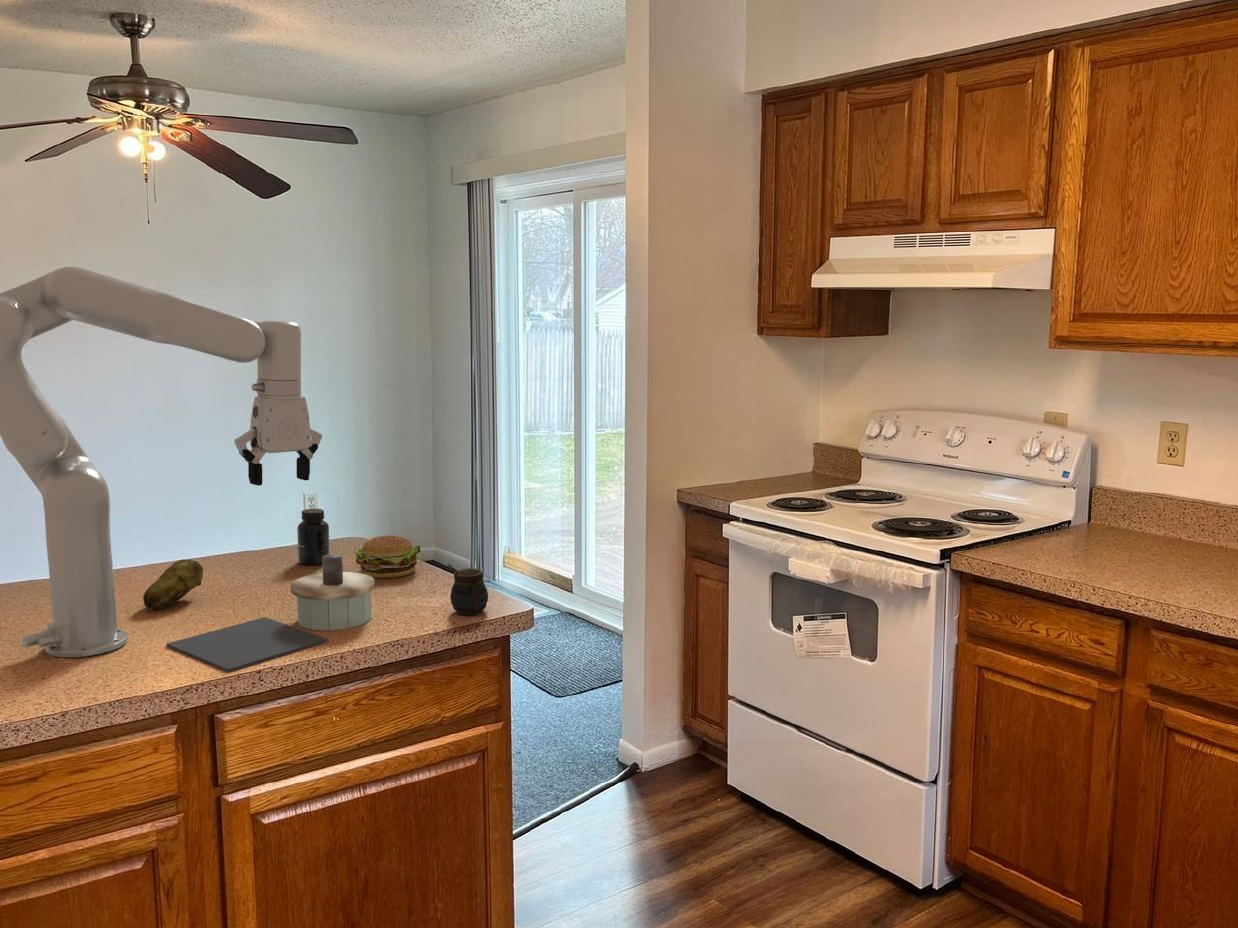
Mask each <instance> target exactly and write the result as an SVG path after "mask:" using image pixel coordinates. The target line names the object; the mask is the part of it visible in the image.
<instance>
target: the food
mask: <svg viewBox="0 0 1238 928" xmlns="http://www.w3.org/2000/svg"><path fill="white" fill-rule="evenodd" d="M419 553H421V545H415V547H414V546H413V542H412V541H410V540H409V539H407V538H405V537H402V536H400V535H394V534H393V535H392V534H391V535H389V534H388V535H385V534H384V535H380V536H375V537H371V538H370V539H368V540H366V541H365V542H364V543H363V545H362V547H361V548H358V552H356V551H354V552H353V554H354V555H355V556H356V558H355V563H356V564H357V565H359V567H360V573H361V574H366V575H369V576H371V577H373V578H374V579H395V578H401V577H404V576H408V575H410V574H412V573H414V572H416V571H415V570H416V565H417V563H418V559H417V555H419Z"/></svg>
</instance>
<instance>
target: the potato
mask: <svg viewBox="0 0 1238 928" xmlns="http://www.w3.org/2000/svg"><path fill="white" fill-rule="evenodd" d="M203 577H204V568H203V566H202V565H201V563H199V562H198V561H196V560H194V559H193V560H192V559H179V560H177V561H175V562H173V563H172V564H171V565H170V566H169V567H168V568H166V569H165V570H164V572H162V574H161V575H160V576H159V577H158V578H157V580H155V581H154V582H153V583H152V584H151V585H150V586H149V587H148V588H147V589H146V590H145V592H144V594H143V595H142V596H143V597H142V599H143V604H144V606H145V607H146V608H148V609H151V610H152V611H155V610H160V609H162V608H164V607H167V606H169V605H170V606H171V605H172V604H175V603H177V602H178V601H179V600H181V599H182V598H184V597H185V596H186V595H187V594H188V593H189V592H190V591H193V589H195V588H196V587H199V586H201V585H202V580H203Z"/></svg>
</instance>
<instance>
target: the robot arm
mask: <svg viewBox="0 0 1238 928" xmlns="http://www.w3.org/2000/svg"><path fill="white" fill-rule="evenodd" d="M72 321H77V322H79V323H82V324H88V325H89V326H90V325H91V326H94V327H98V328H101V329H106V330H108V331H109V330H110V331H114V332H117V333H120V334H124V335H127V336H131V337H134V338H137V339H142V340H146V341H150V342H153V343H157V344H164V345H170V346H172V345H173V346H177V347H182V348H185V349H190V350H192V351H196V352H200V353H204V354H207V355H211V356H216V357H218V358H221V359H225V360H228V361H231V362H235V363H240V364H244V363H245V364H246V363H251V362H254V361H256V363H257V369H256V370H257V379H256V382H255V383H252V385H251V390H252V391H253V392H256V395H257V396H255V397H254V398H253V399H254V400H253V403H252V407H251V408H252V409H251V416H250V428H249V430H248V431H246V432H245V433H243V434H242V435H240V436H238V437H237V438H235V439H234V445H235V447H236V448H237V450H238V453H239V455H240V456H241V457H242V458H244V461H245V462H247V464H248V465H247V466H248V475H247V476H248V477H247V478H248V480H249V484H251V485H253V486H262V485H263V463H261V460H262V459H263V457H264V456H265V454H266V453H267V454H277V453H279V454H280V453H291V452H292V453H293V452H295V453H296V454H297V455H298V456H299V457H296V478H297V479H298V480H302V481H310V473H311V459H313V457H314V454H315V453H316V452H317V450H318V449H319V446H320V444H321V441H322V438H323V435H322V434H321V433H320V432H318V431H316V430H313V429H312V428H311V423H310V414H309V408H308V407H309V406H308V404H307V399H306V397H305V396H302V330H301V326H300V325H299V324H298V323H296V322H293V321H288V320H287V321H285V320H263V321H252V320H249V319H247V318H243V317H241V316H237V315H232V314H230V313H225V312H223V311H221V310H220V311H219V310H216V309H213V308H210V307H206V306H202V305H200V304H196V303H192V302H190V301H186V300H183V299H181V298H178V297H176V296H175V295H174V296H173V295H171V294H168V293H164V292H162V291H159V290H155V289H153V288H152V289H151V288H148V287H145V286H141V285H138V284H136V283H131V282H128V281H125V280H122V279H118V278H115V277H112V276H108V275H105V274H102V273H98V272H96V271H91V270H90V269H86V268H82V267H76V266H66V267H64V266H63V267H60V268H57V269H55V270H52V271H50V272H48V273H46V274H44V275H42V276H40V277H37V278H35V279H33V280H30V281H28V282H26V283H24V284H21V285H18V286H16V287H13V288H10V289H8V290H6V291H4V292H1V293H0V437H1V440H2V443H3V445H4V446H5V448H6V450H7V451H8V452H9V454H11V455H12V456H13V457H14V458H15V459H16V461H17V463H18V464H19V465H20V466H21V468H22V469H23V470H24V472H25V474H26V475H27V477H28V478H29V479H30V480H31V482H32V483H33V485H34V486H35V488H36V489H37V490H38V491H39V493H40V495H41V497H42V502H43V511H44V524H45V527H44V528H45V537H46V538H45V540H46V541H45V542H46V543H45V544H46V554H47V562H48V563H47V564H48V573H49V574H48V576H49V577H48V578H49V584H50V585H49V586H50V588H49V589H50V598H51V612H52V621H53V622H49V623H46V629H43V630H42V631H41V632H39V633H31V634H27V635H23V637H22V641H21V642H22V645H23V647H24V648H30V647H35V646H37V647H39V648H44V651H45V653H47V655H49V656H52V657H58V658H83V657H91V656H97V655H100V654H101V655H102V654H105V653H109V652H111V651H114V650H117V649H119V648H121V647H122V646H125V645H126V644H127V642H128V640H129V637H128V635H129V634H128V633H127V632H126V631H125V630H123V629H121V628H118V622H117V609H116V596H115V592H116V591H115V582H114V567H113V554H112V543H111V541H112V540H111V522H110V521H111V519H110V518H111V514H110V513H111V510H110V509H111V501H110V493H109V492H110V491H109V487H108V484H107V482H106V479H105V477H104V476H103V474H102V473H101V472H100V471H99V470H98V469H97V467H96V466H95V465H94V463H93V462H92V461H91V459H90V457H89V456H88V454H87V453H86V451H85V450H84V448H82V446H81V444H80V443H79V441H78V440H77V439H76V437H75V436H74V434H73V433H72V432H71V430H70V428H69V427H68V426H67V424H66V421H65V420H64V419H63V417H62V416H61V415H60V414H59V413H58V412H57V410H56V409H54V408H53V407H52V406H51V404H50V403H49V402H48V400H47V399H46V397H45V396H44V394H43V393H42V391H41V390H40V389H39V387H38V386H37V384H36V383H35V381H34V379H33V377H32V376H31V375H30V373H29V372H28V370H27V368H26V367H25V365H24V363H23V359H22V350H23V348H24V346H25V345H26V344H27V343H28V342H29V340H31V339H34V338H36V337H38V336H40V335H42V334H45V333H48V332H50V331H52V330H54V329H56V328H59V327H61V326H63V325H65V324H67V323H70V322H72ZM249 442H250V447H251V449H248V446H247V443H249Z"/></svg>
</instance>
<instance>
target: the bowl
mask: <svg viewBox="0 0 1238 928" xmlns="http://www.w3.org/2000/svg"><path fill="white" fill-rule="evenodd" d="M296 611H297V612H296V613H297V614H296V615H297V616H296V617H297V623H298V626H300V627H303V628H305V629H308V630H311V631H313V630H314V631H338V630H339V631H340V630H347V629H351V628H356V627H359V626H361V625H364V624H366V623H367V622H368V621H370V620H371V619H372V590H371V591H370V592H368V593H365V594H362V595H359V596H355V597H350V598H344V599H335V600H313V599H305V598H300V597H297V596H296Z"/></svg>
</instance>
